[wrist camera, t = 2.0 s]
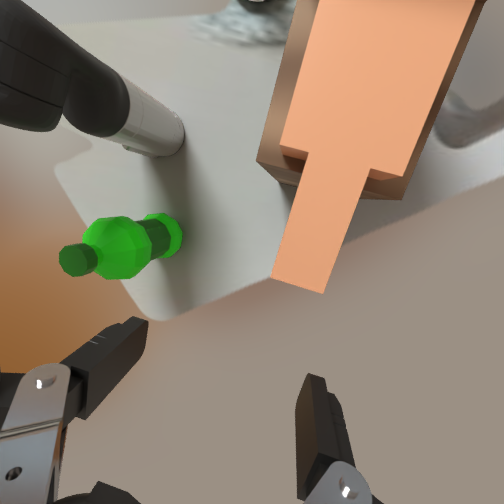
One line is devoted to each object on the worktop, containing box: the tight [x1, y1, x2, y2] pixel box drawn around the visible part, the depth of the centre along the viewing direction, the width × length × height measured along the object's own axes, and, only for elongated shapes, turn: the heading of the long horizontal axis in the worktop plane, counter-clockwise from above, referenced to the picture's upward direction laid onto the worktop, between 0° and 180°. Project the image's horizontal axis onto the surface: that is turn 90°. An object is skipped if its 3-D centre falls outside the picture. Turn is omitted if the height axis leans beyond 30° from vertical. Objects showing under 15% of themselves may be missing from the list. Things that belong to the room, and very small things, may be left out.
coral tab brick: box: [270, 0, 475, 294], centre depth 17 cm, size 19×8×4 cm, turn 165°
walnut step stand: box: [256, 0, 487, 200], centre depth 27 cm, size 25×12×38 cm, turn 165°
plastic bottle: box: [59, 213, 183, 280], centre depth 44 cm, size 10×10×25 cm
